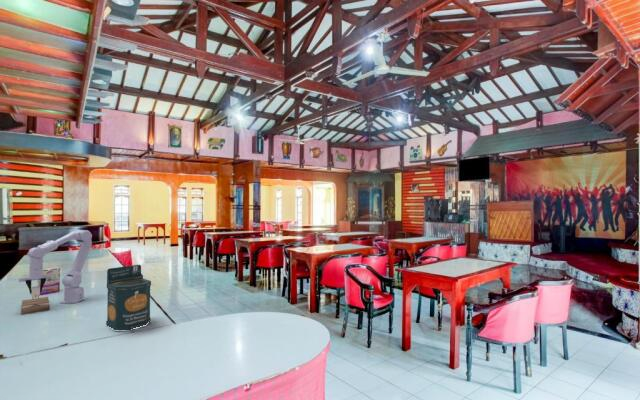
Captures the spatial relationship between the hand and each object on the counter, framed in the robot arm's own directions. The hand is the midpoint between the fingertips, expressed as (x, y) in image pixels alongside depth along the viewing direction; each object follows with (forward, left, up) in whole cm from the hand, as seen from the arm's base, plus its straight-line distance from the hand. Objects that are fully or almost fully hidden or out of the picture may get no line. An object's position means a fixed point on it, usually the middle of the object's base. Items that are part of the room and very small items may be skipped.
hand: (35, 292), depth 189 cm
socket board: (+4, -5, -10) cm, 11 cm away
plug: (0, 0, -3) cm, 3 cm away
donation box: (-67, +24, -10) cm, 72 cm away
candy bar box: (+22, -37, -10) cm, 44 cm away
